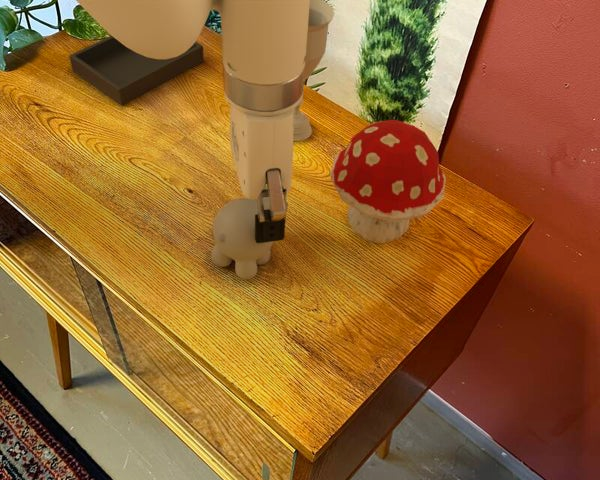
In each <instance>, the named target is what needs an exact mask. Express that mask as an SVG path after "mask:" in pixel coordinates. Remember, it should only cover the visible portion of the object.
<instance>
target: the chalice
mask: <svg viewBox="0 0 600 480" xmlns="http://www.w3.org/2000/svg"><path fill="white" fill-rule="evenodd" d="M334 16H335V11H334V9H333V7H332V6H331V5H330V4H329V3H328V2H325V1H324V0H310V5H309V19H308V32H307V45H306V59H305V74H304V81H306V80H308V79H309V78H310V77H311V75H312V74H313V72H314V71H315V70H316V68H317V67H318V66H319V65H320V63H321V61H322V59H323V57H324V55H325V53H326V48H327V40H328V33H329V32H328V31H329V24H330V23H331V22H332V20H333V19H334ZM304 91H305V90H304V88H303V92H304ZM303 104H304V100H303V99H302V100H301V102H300V103H299V104H298V105H297V106H296V107H295V108H294V109H293V127H294V131H293V142H302V141H305V140H307V139H308V138H310V137H311V136H312V134H313V133H312V132H313V128H312V126H311V123H310V121H309V118H308V116H307V115H306V114H305V113H304V112H303V111H301V105H303Z"/></svg>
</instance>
